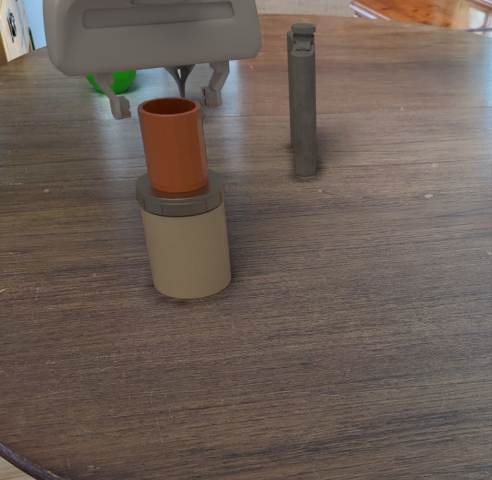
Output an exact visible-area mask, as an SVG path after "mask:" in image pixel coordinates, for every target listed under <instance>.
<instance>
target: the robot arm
mask: <svg viewBox="0 0 492 480" xmlns="http://www.w3.org/2000/svg"><path fill="white" fill-rule="evenodd" d="M42 19H43V20H42V23H43V31H44V38H45V44H46V50H47V55H48V59H49V61H50V62H51V64H52V66H53V67H54V68H55V69H56V70H57V71H59V72H60V73H62V74H63V75H64V76H65V77H69V78H72V77H74V78H75V77H82V76H85V75H93V78H94V81H95V82H96V83H97V85H98V86H99V87H100V88H101V90H102V91H103V92H104V93H103V94H104V95H105V96H106V97H107V98H108V101H109V106H110V112H111V115H112V117H113V118H114V119H115V121H117V120H125V119H126V120H127V119H131V118H132V112H131V104H130V100H129V99H128V98H127V97H126V96H124V95H117V94H115V93H114V92H113V91H112V89H111V88H110V87H109V85H111V84H114V78H113V72H123V71H133V70H136V71H141V70H152V69H162V68H163V69H164V67H173V66H183V65H193V64H196V65H200V64H201V65H202V64H203V65H204V64H208V66H209V68H210V69H212V70H213V71H212V75H211V77H210V79H209V82H208V85H205V86H201V87H200V90H201V94H202V97H201V101H202V103H203V106H205V107H206V108H207V109H210V108H219V107H222V104H223V102H222V90H223V88H224V86H225V84H226V81H227V79H228V77H229V74H230V73H231V70H230V61H240V60H241V61H242V60H251V59H255V58H257V56H258V54H259V53H260V51H261V50H262V46H263V44H262V43H263V41H262V32H261V25H260V18H259V12H258V7H257V2H256V0H42ZM108 84H109V85H108Z"/></svg>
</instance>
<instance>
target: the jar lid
mask: <svg viewBox="0 0 492 480" xmlns="http://www.w3.org/2000/svg"><path fill="white" fill-rule="evenodd" d="M208 178H209V181H208V183H207V184H206V185H205V186H204V187H202V188H200V189H197V190H194V191H189V192H181V193H170V192H163V191H159V190H156V189H154V188H153V187H152V186H151V185H150V181H149V178H148V172H146V173H143V174H142V175H141V176H139V177H138V178H137V180H136V181H135V184H134V188H135V197H136V202H137V203H138V205H139V207H140V206H141V207H142V208H143V209H144V210H146V211H148V212H151V213H154V214H159V215H166V216H187V215H194V214H199V213H203V212H206V211H209V210H211V209H213V208H215V207H217V206H218V205H220V204H221V203H222V202H223V200H224V201H225V194H226V191H225V183H224V179H223V176H222V175H221V174H220V173H218V172H217V171H215V170H212V169H209V168H208Z"/></svg>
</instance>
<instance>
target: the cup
mask: <svg viewBox="0 0 492 480" xmlns="http://www.w3.org/2000/svg"><path fill="white" fill-rule="evenodd" d="M136 112H137V116H138V123H139V128H140V134H141V141H142V147H143V153H144V160H145V165H146V171H147V172H146V173H148V178H149V181H150V185H151V186H152V187H153V188H154V189H156V190H159V191H163V192H170V193H181V192H189V191H194V190H197V189H200V188H202V187H204V186H205V185H206V184H207V183H208V181H209V178H208V169H209V168H208V166H209V165H208V158H207V150H206V149H207V148H206V140H205V132H204V121H203V119H202V112H203V111H202V106H201V103H200V102H198V101H197V100H195V99H191V98H188V97H187V98H186V97H185V98H181V97H180V96H166V97H165V96H164V97H157V98H152V99H148V100H144V101H143V102H141V103H139V104H138V105H137V108H136Z"/></svg>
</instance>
